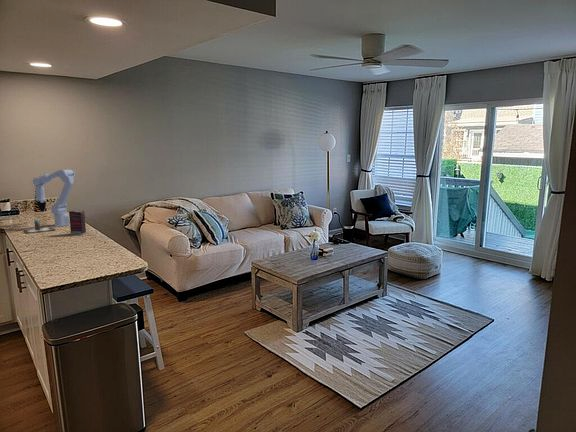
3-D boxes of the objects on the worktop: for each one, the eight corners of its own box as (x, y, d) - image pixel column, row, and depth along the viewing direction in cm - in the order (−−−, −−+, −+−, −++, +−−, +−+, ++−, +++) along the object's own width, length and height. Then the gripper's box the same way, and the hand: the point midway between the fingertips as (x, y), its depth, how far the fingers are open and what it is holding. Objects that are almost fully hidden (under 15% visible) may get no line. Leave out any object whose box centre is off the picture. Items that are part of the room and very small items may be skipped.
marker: (39, 228, 286) (39, 219, 285) (40, 229, 283) (39, 219, 282) (34, 229, 284) (34, 219, 283) (35, 230, 282) (34, 220, 280)
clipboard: (52, 227, 295) (52, 225, 294) (55, 230, 284) (55, 228, 284) (23, 230, 284) (23, 228, 283) (25, 233, 273) (25, 231, 273)
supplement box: (86, 233, 277) (84, 210, 274) (82, 234, 272) (80, 212, 270) (74, 232, 278) (73, 210, 275) (70, 234, 273) (68, 211, 270)
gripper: (33, 192, 305) (34, 210, 308) (35, 194, 294) (36, 212, 296) (43, 192, 310) (45, 209, 312) (46, 194, 298) (47, 211, 301)
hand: (41, 210), depth 304 cm, fingers open, 7 cm apart
